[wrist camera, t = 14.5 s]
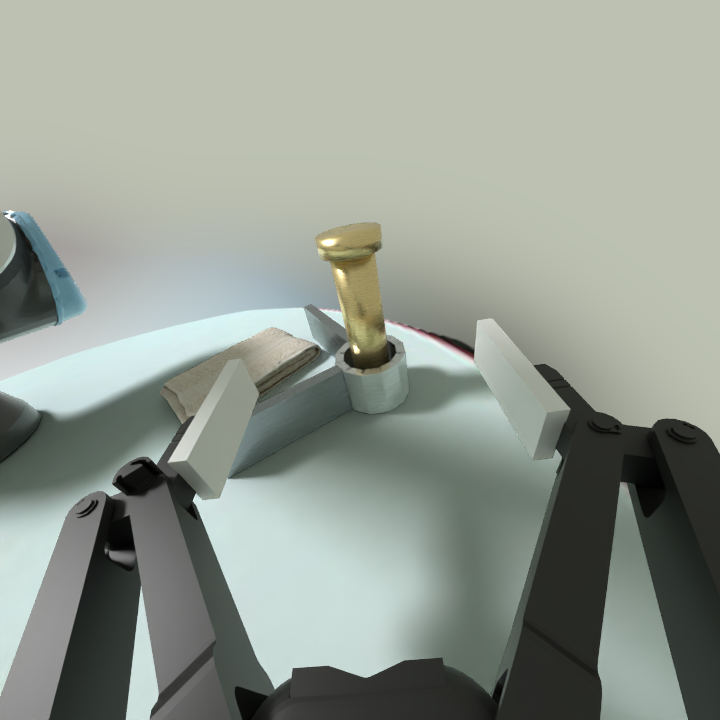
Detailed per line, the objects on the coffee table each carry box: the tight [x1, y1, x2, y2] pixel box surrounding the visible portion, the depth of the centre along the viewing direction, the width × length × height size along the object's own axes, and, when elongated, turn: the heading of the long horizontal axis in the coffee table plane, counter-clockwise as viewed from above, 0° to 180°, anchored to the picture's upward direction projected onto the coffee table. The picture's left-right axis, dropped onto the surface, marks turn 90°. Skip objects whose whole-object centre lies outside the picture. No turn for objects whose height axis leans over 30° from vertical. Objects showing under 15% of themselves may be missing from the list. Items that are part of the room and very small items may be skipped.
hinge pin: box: [315, 223, 390, 370], centre depth 26 cm, size 5×5×16 cm
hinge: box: [227, 304, 409, 478], centre depth 32 cm, size 20×20×5 cm
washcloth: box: [160, 327, 321, 424], centre depth 37 cm, size 12×18×3 cm, turn 136°
